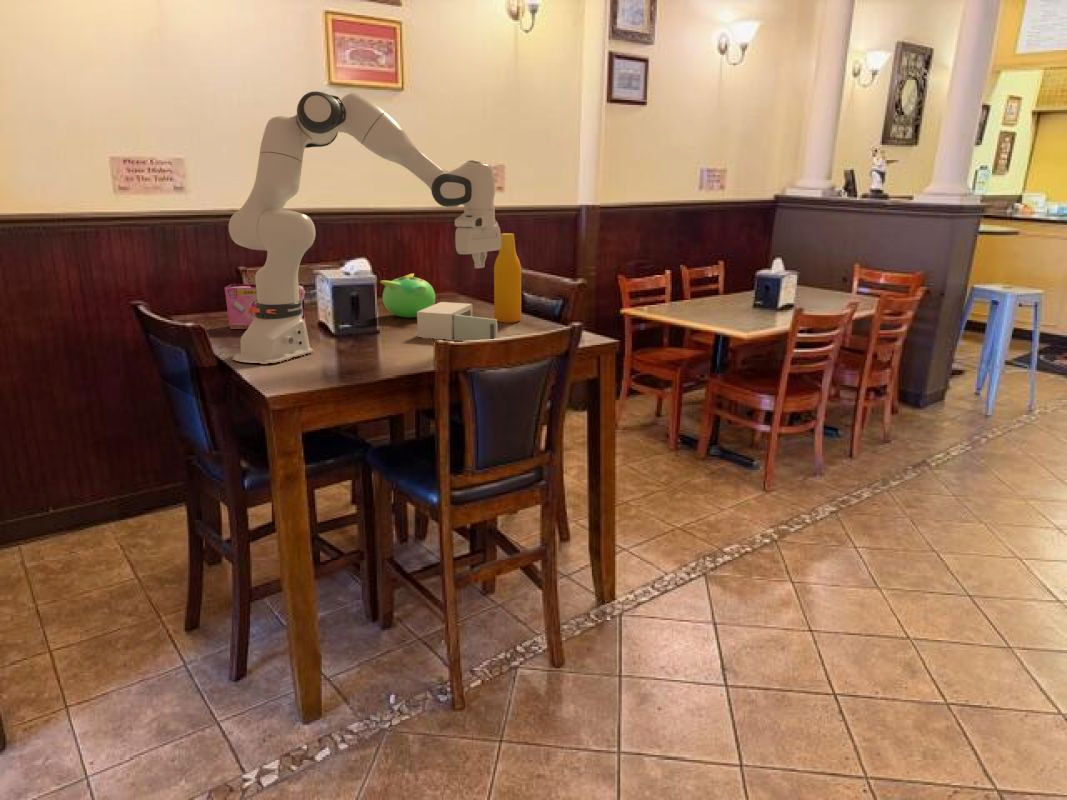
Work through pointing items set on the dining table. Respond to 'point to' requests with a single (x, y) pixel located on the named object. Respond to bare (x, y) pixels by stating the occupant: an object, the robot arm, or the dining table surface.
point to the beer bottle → (507, 282)
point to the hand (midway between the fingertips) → (479, 267)
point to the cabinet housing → (440, 319)
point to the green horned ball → (407, 295)
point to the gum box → (248, 302)
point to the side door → (473, 328)
